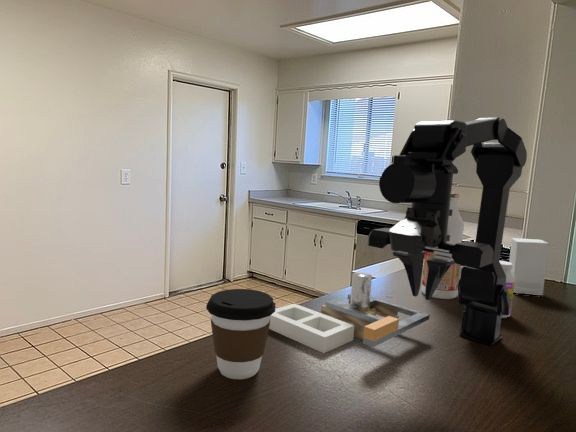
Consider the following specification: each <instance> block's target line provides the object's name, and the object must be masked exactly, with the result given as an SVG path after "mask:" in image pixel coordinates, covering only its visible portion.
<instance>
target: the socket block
mask: <svg viewBox="0 0 576 432" xmlns="http://www.w3.org/2000/svg"><path fill="white" fill-rule="evenodd" d="M347 303H348V304H350V303H351V300H349V299H348V302H347ZM371 307H373V308H375V309H376V317H379V318H382V319H383V318H385V317H388V316H391V317H394V318H397V319H399V315H398V314H399V312H397V311H394V310H391V309H387V308H384V307H381V306H378V305H372V306H371ZM319 313H322V314H324V315H327V316H330V317H333V318H335V319H338V320H341V321H344V322H346V323H349V324H352V325H354V336H353V338H356V339H359V340H361V341H363V336H364V326H366V325H369V324H371V323H372V322H369V321H366V320H363V319H360V318H357V317H354V316H352V315H349V314H346V313H343V312H340V311H337V310H334V309H331V308H329V307H326V306H325V304H323V305H321V307H320V311H319Z"/></svg>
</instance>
